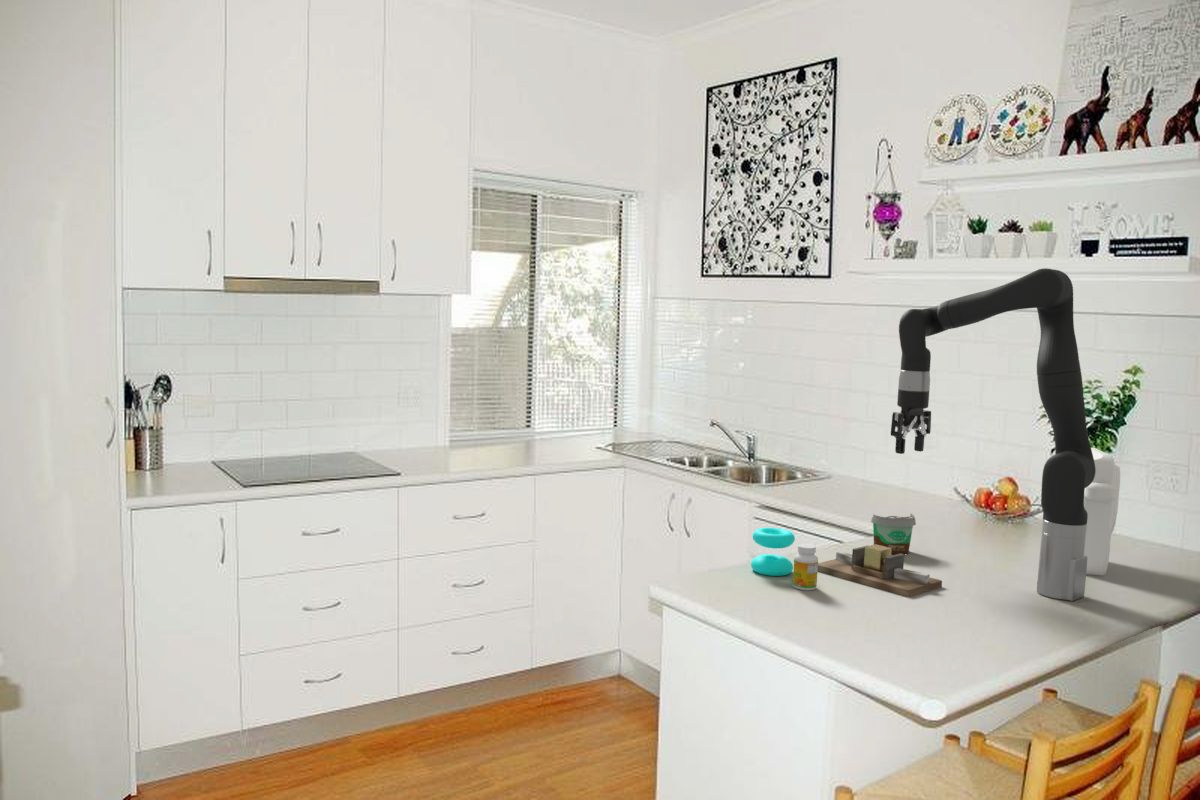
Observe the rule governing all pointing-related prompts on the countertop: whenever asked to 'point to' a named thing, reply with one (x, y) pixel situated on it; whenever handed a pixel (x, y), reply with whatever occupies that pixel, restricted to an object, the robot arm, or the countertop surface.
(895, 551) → the food container
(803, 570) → the supplement bottle
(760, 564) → the donuts
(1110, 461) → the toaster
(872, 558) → the tan block
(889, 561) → the board
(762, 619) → the countertop surface
